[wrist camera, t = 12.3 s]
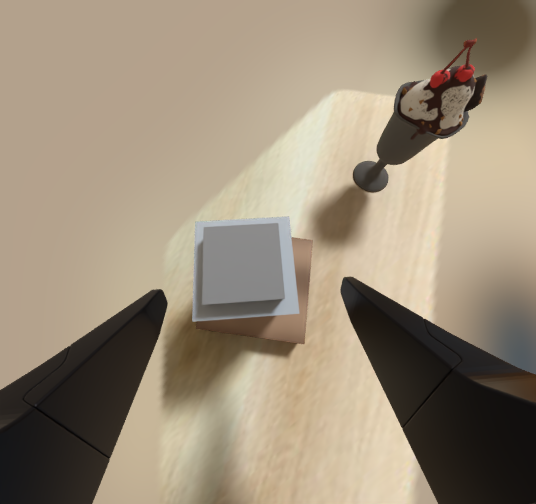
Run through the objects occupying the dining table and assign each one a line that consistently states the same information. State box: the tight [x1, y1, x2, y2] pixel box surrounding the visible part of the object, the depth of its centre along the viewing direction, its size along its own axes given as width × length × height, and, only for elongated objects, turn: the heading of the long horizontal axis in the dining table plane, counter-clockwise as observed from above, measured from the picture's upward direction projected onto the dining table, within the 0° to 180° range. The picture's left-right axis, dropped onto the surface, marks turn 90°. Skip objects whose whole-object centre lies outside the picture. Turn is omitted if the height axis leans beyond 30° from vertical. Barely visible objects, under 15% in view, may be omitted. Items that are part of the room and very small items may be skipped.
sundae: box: [354, 38, 487, 192], centre depth 20 cm, size 7×7×15 cm
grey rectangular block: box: [192, 217, 299, 322], centre depth 15 cm, size 6×6×11 cm
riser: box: [196, 237, 313, 344], centre depth 22 cm, size 11×11×3 cm
